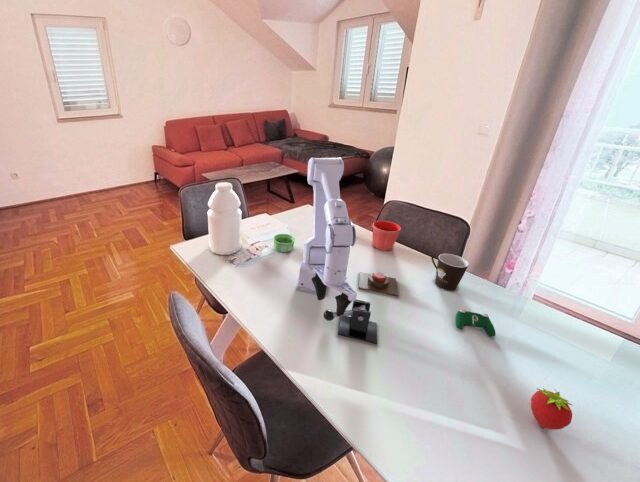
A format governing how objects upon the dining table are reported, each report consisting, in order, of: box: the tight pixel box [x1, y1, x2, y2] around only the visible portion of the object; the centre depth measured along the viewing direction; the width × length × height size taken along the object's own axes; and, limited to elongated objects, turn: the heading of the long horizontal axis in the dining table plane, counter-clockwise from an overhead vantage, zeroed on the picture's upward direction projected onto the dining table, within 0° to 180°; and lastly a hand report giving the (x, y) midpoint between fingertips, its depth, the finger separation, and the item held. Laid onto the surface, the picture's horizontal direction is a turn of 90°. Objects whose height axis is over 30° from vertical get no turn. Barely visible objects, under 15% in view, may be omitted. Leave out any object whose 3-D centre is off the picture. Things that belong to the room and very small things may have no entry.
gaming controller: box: [455, 309, 496, 337], centre depth 89 cm, size 9×4×6 cm
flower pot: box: [372, 220, 402, 251], centre depth 132 cm, size 11×11×10 cm
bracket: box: [337, 298, 378, 345], centre depth 87 cm, size 10×8×9 cm
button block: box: [358, 271, 399, 297], centre depth 107 cm, size 12×10×3 cm
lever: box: [323, 305, 367, 322], centre depth 88 cm, size 12×3×3 cm, turn 69°
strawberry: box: [530, 387, 573, 431], centre depth 62 cm, size 6×8×10 cm
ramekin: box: [272, 233, 296, 253], centre depth 131 cm, size 9×9×4 cm
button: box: [373, 271, 386, 282], centre depth 107 cm, size 4×4×2 cm
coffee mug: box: [431, 253, 470, 292], centre depth 108 cm, size 12×9×10 cm
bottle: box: [206, 181, 243, 256], centre depth 128 cm, size 14×14×28 cm
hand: (330, 306), depth 89 cm, fingers open, 7 cm apart
